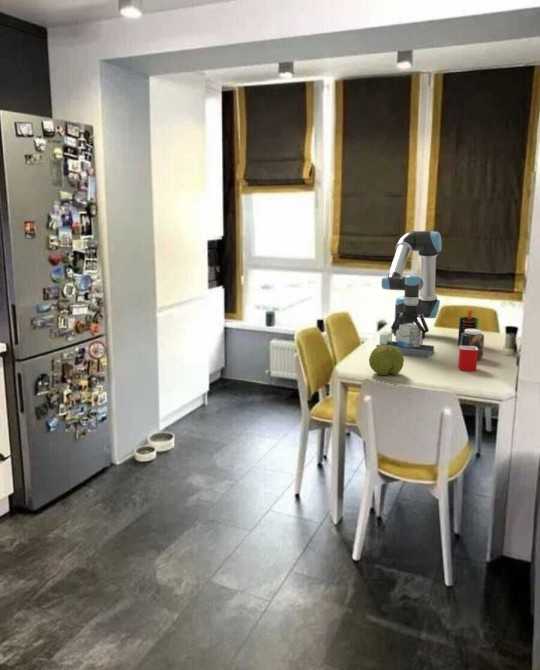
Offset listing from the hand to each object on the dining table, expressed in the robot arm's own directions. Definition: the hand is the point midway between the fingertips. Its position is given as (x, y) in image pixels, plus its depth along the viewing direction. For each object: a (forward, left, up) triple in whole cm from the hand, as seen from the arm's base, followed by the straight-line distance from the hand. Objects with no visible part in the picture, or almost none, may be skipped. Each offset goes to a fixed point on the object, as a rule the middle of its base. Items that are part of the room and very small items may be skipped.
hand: (408, 343), depth 312 cm
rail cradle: (0, -2, -5) cm, 6 cm away
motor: (-35, +24, -5) cm, 43 cm away
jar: (-4, +32, -5) cm, 33 cm away
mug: (+17, +34, -5) cm, 38 cm away
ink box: (0, 0, -2) cm, 2 cm away
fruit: (+47, +3, -5) cm, 47 cm away
